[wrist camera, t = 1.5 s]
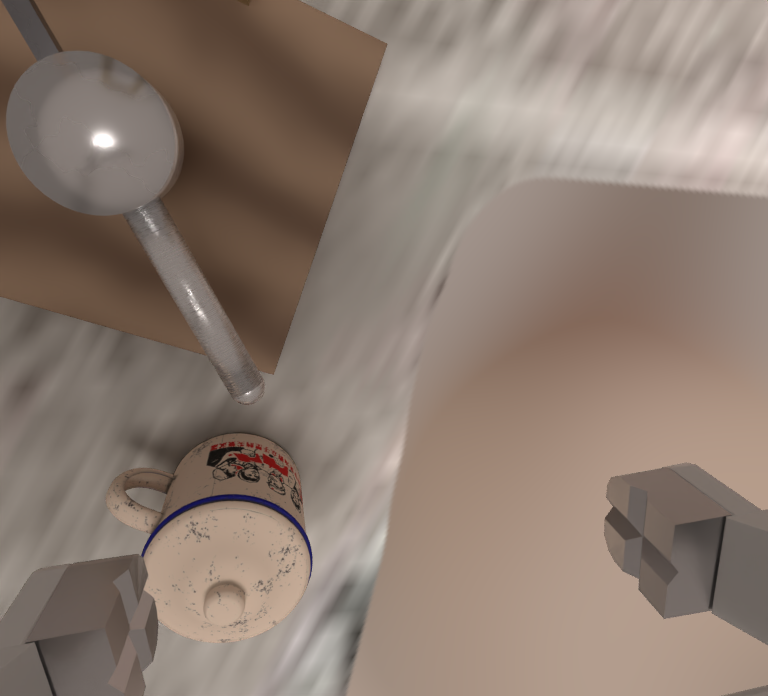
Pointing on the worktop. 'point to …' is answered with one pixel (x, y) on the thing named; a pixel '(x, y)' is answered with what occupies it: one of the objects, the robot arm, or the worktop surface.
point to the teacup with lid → (222, 538)
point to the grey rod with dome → (117, 171)
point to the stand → (198, 162)
